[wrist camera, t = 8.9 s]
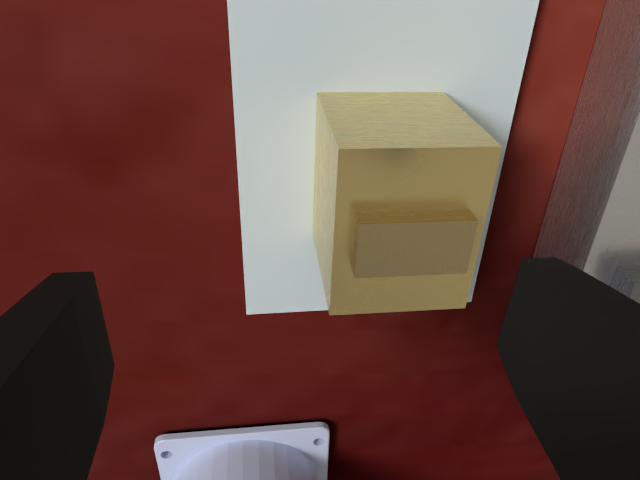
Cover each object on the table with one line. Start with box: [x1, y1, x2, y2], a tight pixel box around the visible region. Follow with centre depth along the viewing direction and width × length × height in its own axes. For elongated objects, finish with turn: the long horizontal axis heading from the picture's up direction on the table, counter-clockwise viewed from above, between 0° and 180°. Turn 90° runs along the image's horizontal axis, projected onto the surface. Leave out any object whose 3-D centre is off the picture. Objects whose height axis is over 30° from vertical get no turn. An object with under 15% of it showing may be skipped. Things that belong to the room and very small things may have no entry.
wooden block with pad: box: [312, 92, 502, 315], centre depth 15 cm, size 5×4×5 cm
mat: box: [227, 0, 539, 314], centre depth 18 cm, size 12×9×1 cm
